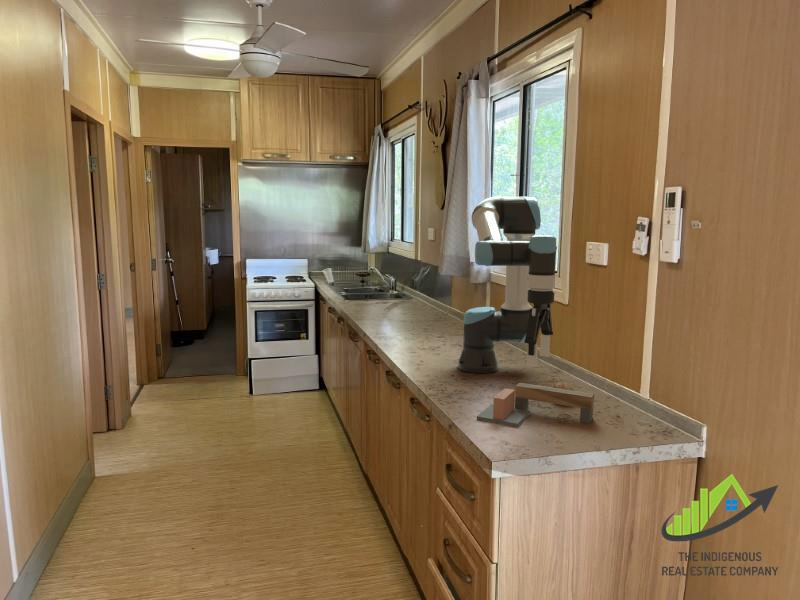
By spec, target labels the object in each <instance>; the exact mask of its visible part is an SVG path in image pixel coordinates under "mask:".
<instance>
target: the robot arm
mask: <svg viewBox="0 0 800 600" xmlns="http://www.w3.org/2000/svg"><path fill="white" fill-rule="evenodd" d="M541 217H542V216H541V209H540V204H539V202H538V199H536V198H535V197H532V196H531V197H530V196H492V197H489V198H486V199H484V200H482V201H481V202H480V203H478V204H477V205H476V207H474V209H473V211H472V214H471V223H472V226H473V228H474V229H475V230H476V233H477V238H478V241H476V243H475V246H474V262H475V264H476V265H477V266H486V267H491V266H493V267H495V266H497V267H501V266H502V267H506V268H505V269H506V270H505V289H504V290H505V291H504V293H505V294H504V297H505V298H504V299H505V300H504V303H503V304H501V306H500V311H499V310H498V311H497V310H496V308H495V307H493V306H482V307H481V306H479V307H474V308H473V307H472V308H469V309H467V310H466V311H465V312H464V315H463V321H462V323H463V340H462V341H463V342H462V343H463V345H462V346H463V347H462V350H461V353H460V357H459V359H458V363H457V367H458V369H459V370H460V371H462V370H463V371H462V372H465V371H466V373H470V374H490V373H494V372H495V373H496V372H497V371H498V370H499V362H498V358H497V355H496V352H495V343H519V344H520V343H524V344H526V347H527V350H526V366H527V367H532V368H534V367H535V368H537V365H538V348H539V357H546V358H549V357H550V348H551V346H550V345H551V336H553V335H554V331H553V323H552V322H553V321H552V314H551V311H552V310H551V304H553V303H554V302H555V290H554V289H555V288H556V265H557V264H556V262H557V260H556V259H557V250H558V248H557V238H556V237H555V235H536V230H539V229H540V228H541V223H542V222H541ZM501 230H502V232H503V233H502V232H501ZM503 235H504V236H505V238H506V240H504V238H503ZM531 304H533V307H532V305H531ZM540 331H541V334H539V333H540ZM539 335H540V336H539ZM538 337H540V341H539V346H538V343H537V342H538Z"/></svg>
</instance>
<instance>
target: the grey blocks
mask: <svg viewBox="0 0 800 600" xmlns="http://www.w3.org/2000/svg"><path fill="white" fill-rule="evenodd" d="M514 408H516V409H522V410H527V409H528V408H529V399H523V398H517V397H515V402H514ZM579 409H580V413H579V414H580V415H579V423H583V424H588V425H589V424H591V422H592V421H593V418H594V407H593V408H592V409H591V410H590V409H584V408H579Z"/></svg>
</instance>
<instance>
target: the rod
mask: <svg viewBox="0 0 800 600" xmlns="http://www.w3.org/2000/svg"><path fill="white" fill-rule="evenodd" d="M516 397H517V398H523V399H528V401H529V400H530V401H537V402H542V403H547V404H553V405H554V404H555V405H560V406H565V407H573V408H578V409H581V408H584V409H590V410H591V409H592V408H593V409H594V405H595V393H592V392H585V391H584V392H583V391H577V390H574V391H572V390H565V389H559V388H554V387H551V386H544V385H537V384H532V383H526V382H525V383H523V382H519V383H517V384H516V385H515V398H516Z"/></svg>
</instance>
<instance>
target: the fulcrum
mask: <svg viewBox="0 0 800 600" xmlns="http://www.w3.org/2000/svg"><path fill="white" fill-rule="evenodd" d="M515 391H516V389H512V388H508V387H507V388H504V389H502V390H501V391H500V392H498V393H497V394H496V395H495V396H494V397H493V404H492V403H491V404H490V405H489V406H488V407H486V408H485V409H484V410H482V411H481V412H480V413H479V414H478V415H477V416H476V420H478V421H483V422H487V423H493V424H498V425H504V426H508V427H509V426H510V427H514V428H519V426H520V425H521V424H522V423H523V422H524V421H525V420H526V419H527V418H528V417H529V416H530V415H531V410H527V409H526V410H522V409H516V408H515V398H516V397H515Z"/></svg>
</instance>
